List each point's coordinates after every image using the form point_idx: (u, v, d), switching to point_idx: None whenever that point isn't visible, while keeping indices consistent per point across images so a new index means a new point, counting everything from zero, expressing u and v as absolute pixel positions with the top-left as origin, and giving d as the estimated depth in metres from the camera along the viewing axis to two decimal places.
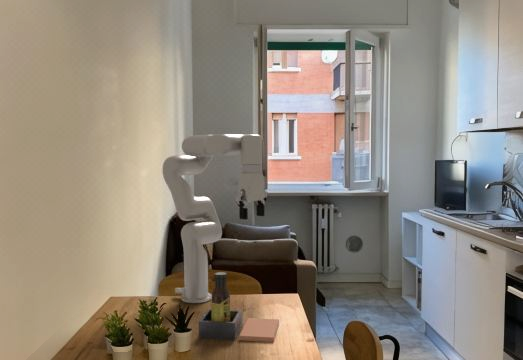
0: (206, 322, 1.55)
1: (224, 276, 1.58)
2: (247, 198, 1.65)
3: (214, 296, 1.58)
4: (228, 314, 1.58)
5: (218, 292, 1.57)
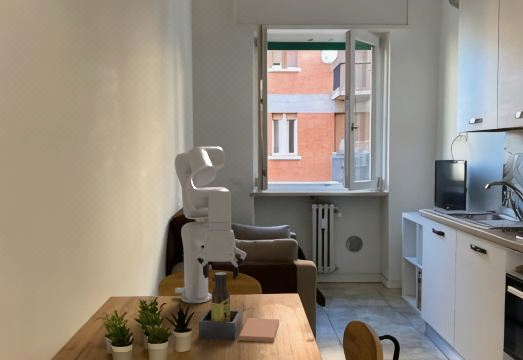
0: (206, 322, 1.55)
1: (224, 276, 1.58)
2: None
3: (214, 296, 1.58)
4: (228, 314, 1.58)
5: (218, 292, 1.57)
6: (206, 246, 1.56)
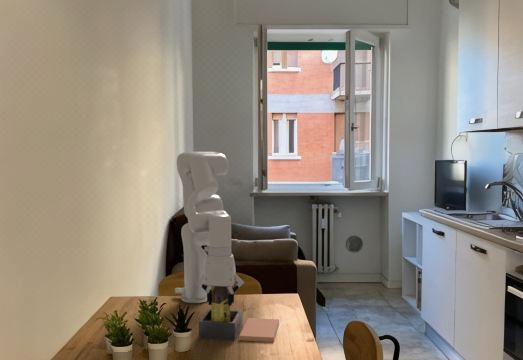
0: (206, 322, 1.55)
1: None
2: None
3: (214, 296, 1.58)
4: (228, 314, 1.58)
5: (218, 292, 1.57)
6: (206, 271, 1.57)
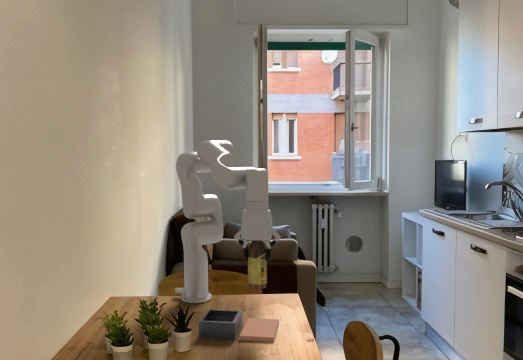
0: (206, 322, 1.55)
1: None
2: None
3: (251, 251, 1.57)
4: (265, 269, 1.57)
5: (255, 247, 1.56)
6: (243, 225, 1.56)
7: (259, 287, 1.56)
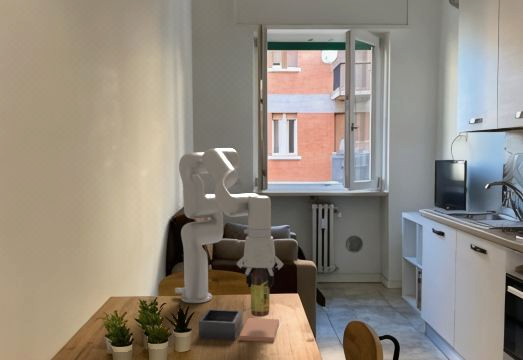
0: (206, 322, 1.55)
1: None
2: None
3: (254, 278, 1.57)
4: (268, 296, 1.58)
5: (258, 274, 1.57)
6: (246, 253, 1.57)
7: (262, 314, 1.57)
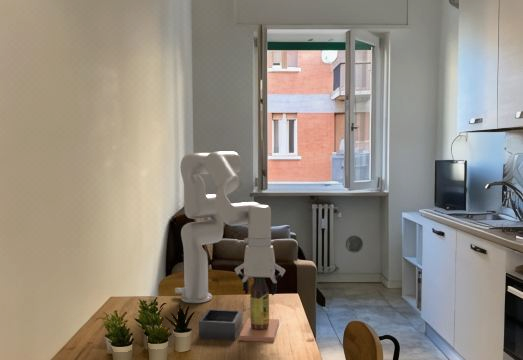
0: (206, 322, 1.55)
1: None
2: None
3: (253, 291, 1.58)
4: (267, 309, 1.59)
5: (258, 287, 1.57)
6: (246, 262, 1.57)
7: (262, 327, 1.57)
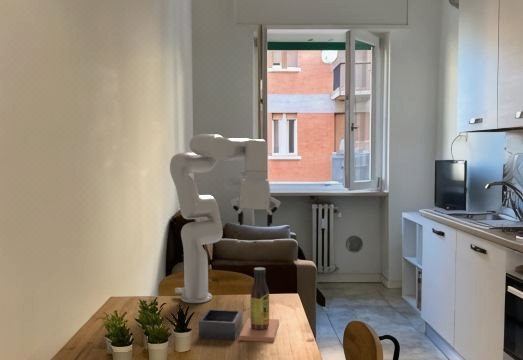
0: (206, 322, 1.55)
1: (263, 271, 1.58)
2: None
3: (254, 291, 1.58)
4: (267, 309, 1.58)
5: (258, 287, 1.57)
6: (242, 194, 1.62)
7: (262, 327, 1.57)
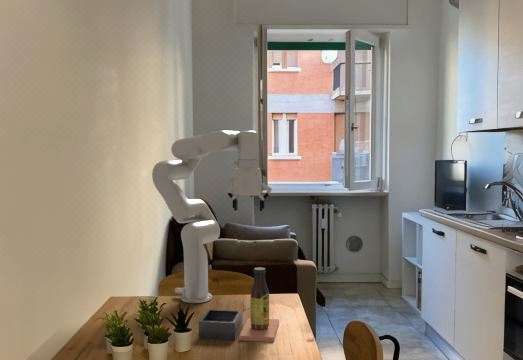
0: (206, 322, 1.55)
1: (263, 271, 1.58)
2: None
3: (254, 291, 1.58)
4: (267, 309, 1.59)
5: (258, 287, 1.57)
6: (236, 181, 1.75)
7: (262, 327, 1.57)
